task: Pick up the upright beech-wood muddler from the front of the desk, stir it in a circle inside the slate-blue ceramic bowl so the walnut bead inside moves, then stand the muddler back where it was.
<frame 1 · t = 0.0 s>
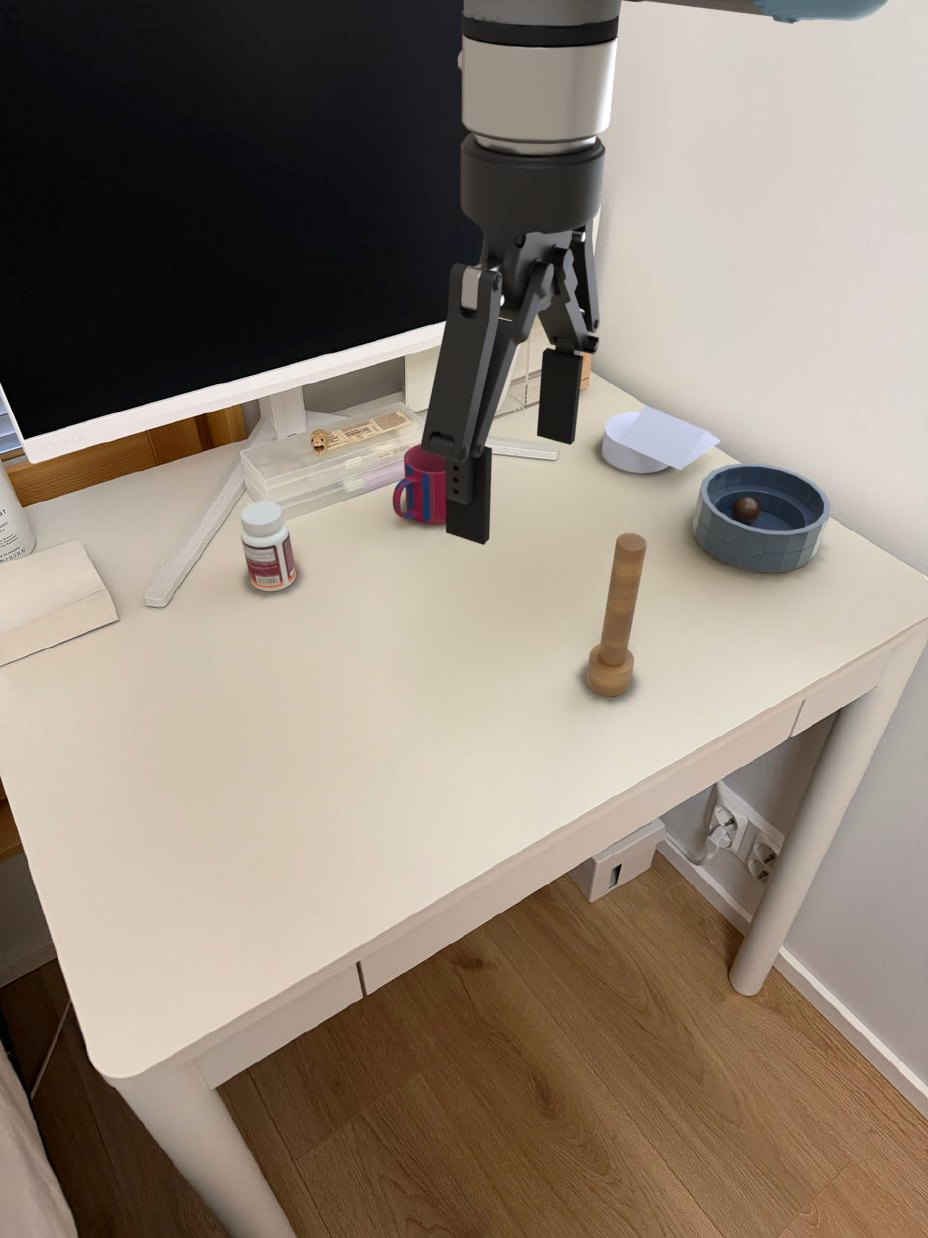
hand: (514, 483, 58), 25 cm above the table, tool pointing down, fingers open, 13 cm apart
bead: (745, 510, 95), point 2 cm above the table, touching bowl
mug: (425, 515, 98), on the table
bowl: (752, 538, 95), on the table
pill bottle: (273, 579, 90), on the table
wedge on round base: (650, 460, 107), on the table
muddler: (607, 680, 79), on the table
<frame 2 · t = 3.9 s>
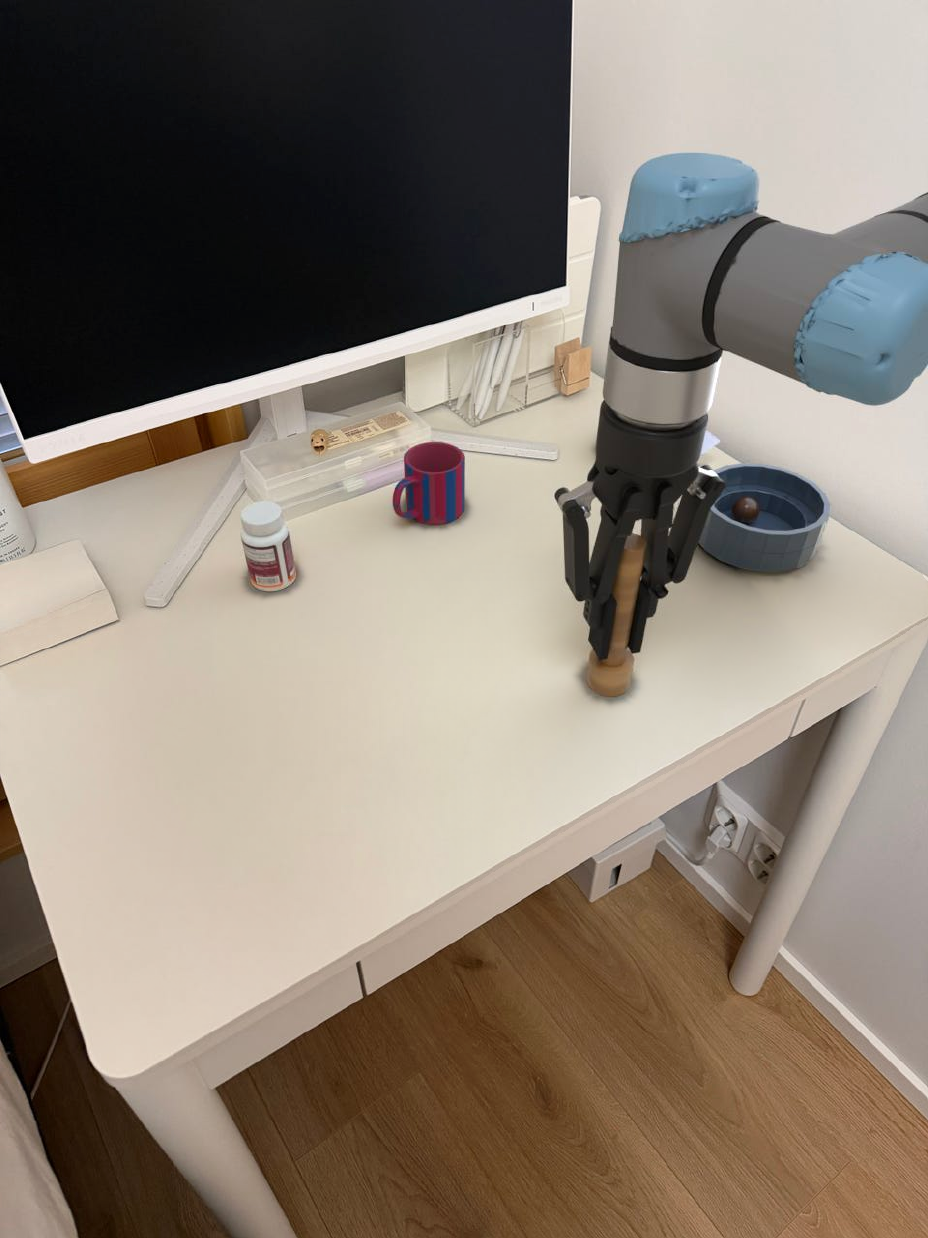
hand: (613, 645, 76), 5 cm above the table, tool pointing down, fingers closed on muddler, 2 cm apart
muddler: (607, 680, 79), on the table, touching gripper
everything else where it was.
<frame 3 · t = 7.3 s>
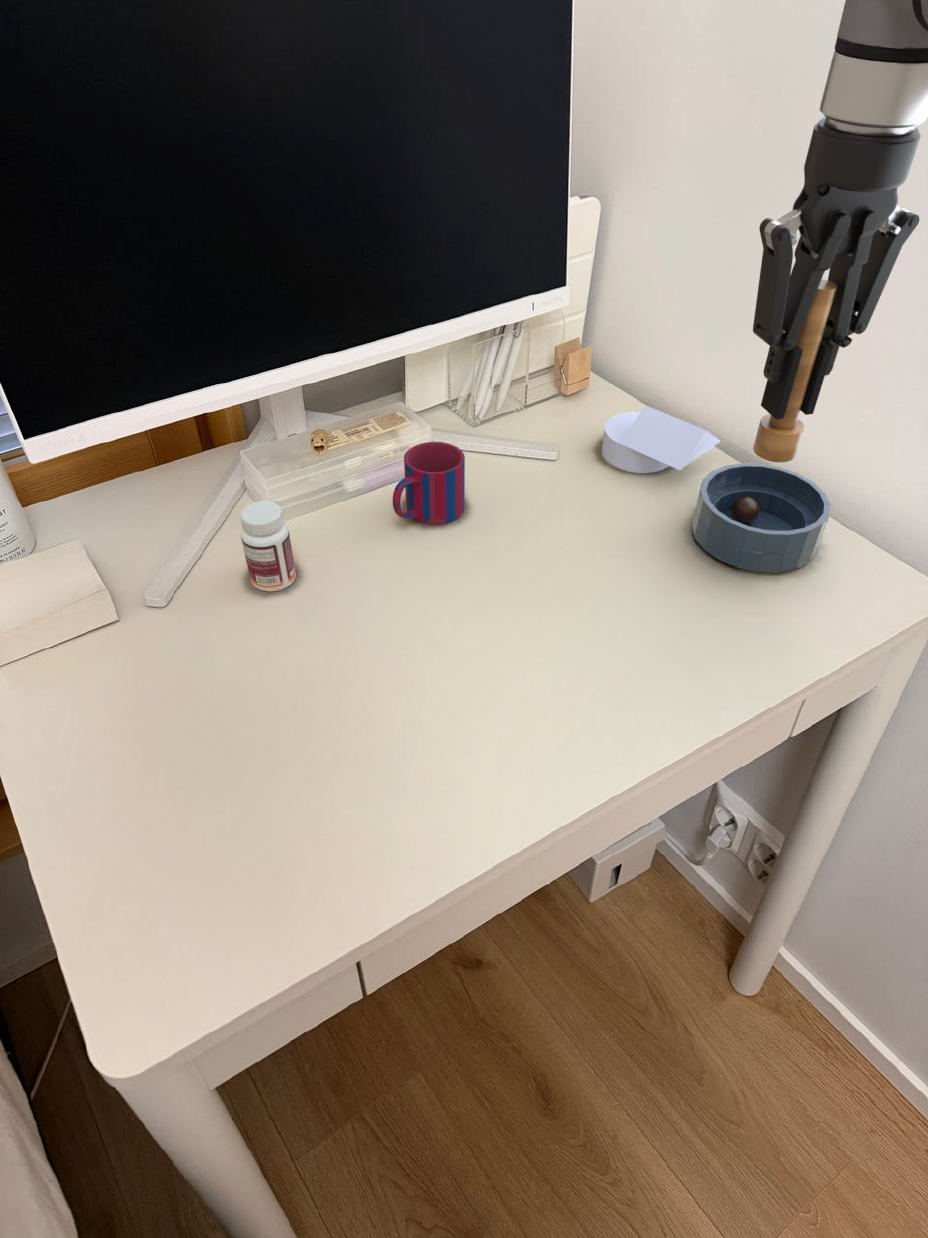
hand: (786, 409, 79), 18 cm above the table, tool pointing down, fingers closed on muddler, 2 cm apart
muddler: (774, 451, 82), point 14 cm above the table, touching gripper
everything else where it was.
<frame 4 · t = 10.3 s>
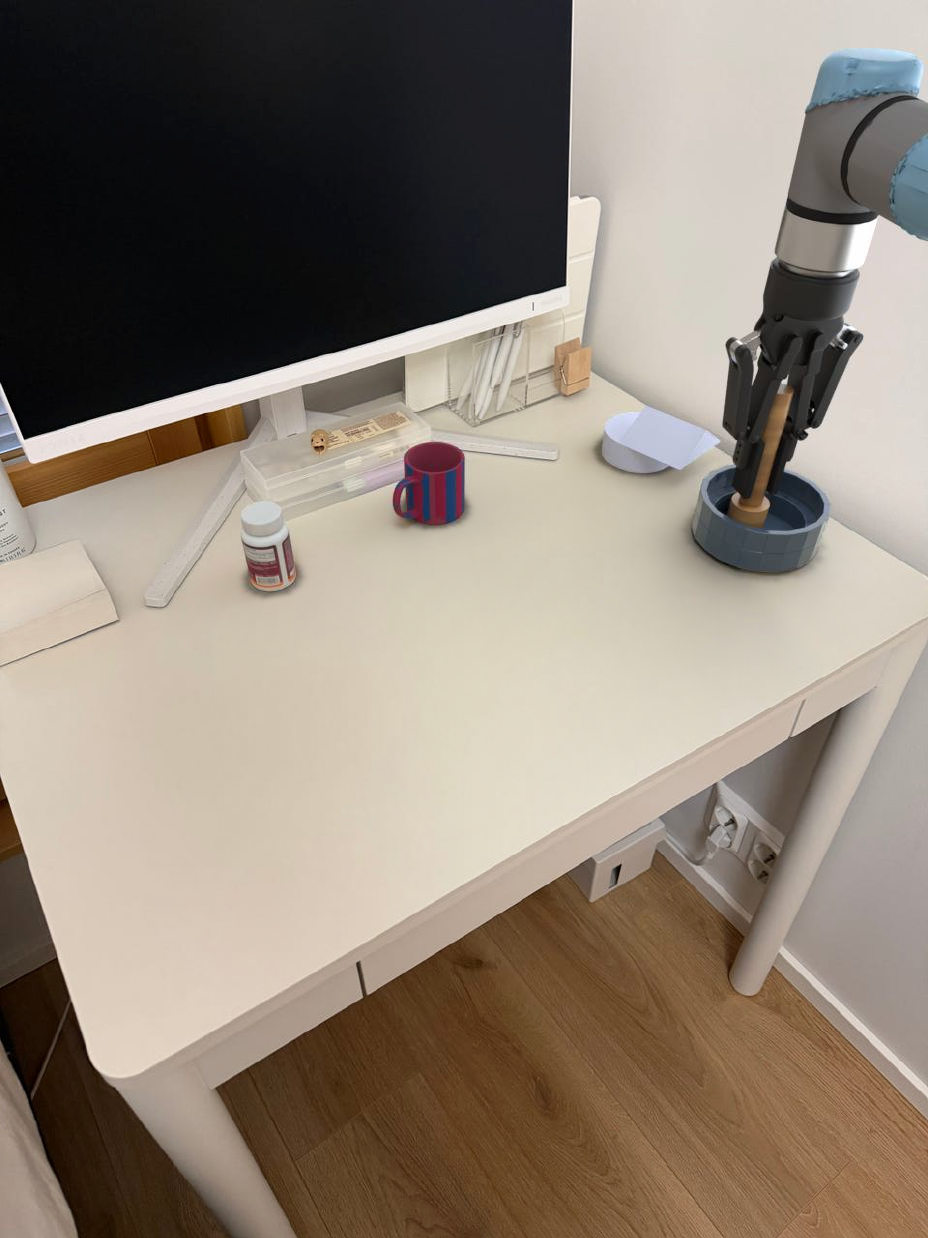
hand: (754, 489, 90), 7 cm above the table, tool pointing down, fingers closed on muddler, 2 cm apart
bead: (741, 506, 96), point 2 cm above the table, tilted 29°, touching bowl, muddler
muddler: (744, 524, 93), point 2 cm above the table, touching bead, gripper
everything else where it was.
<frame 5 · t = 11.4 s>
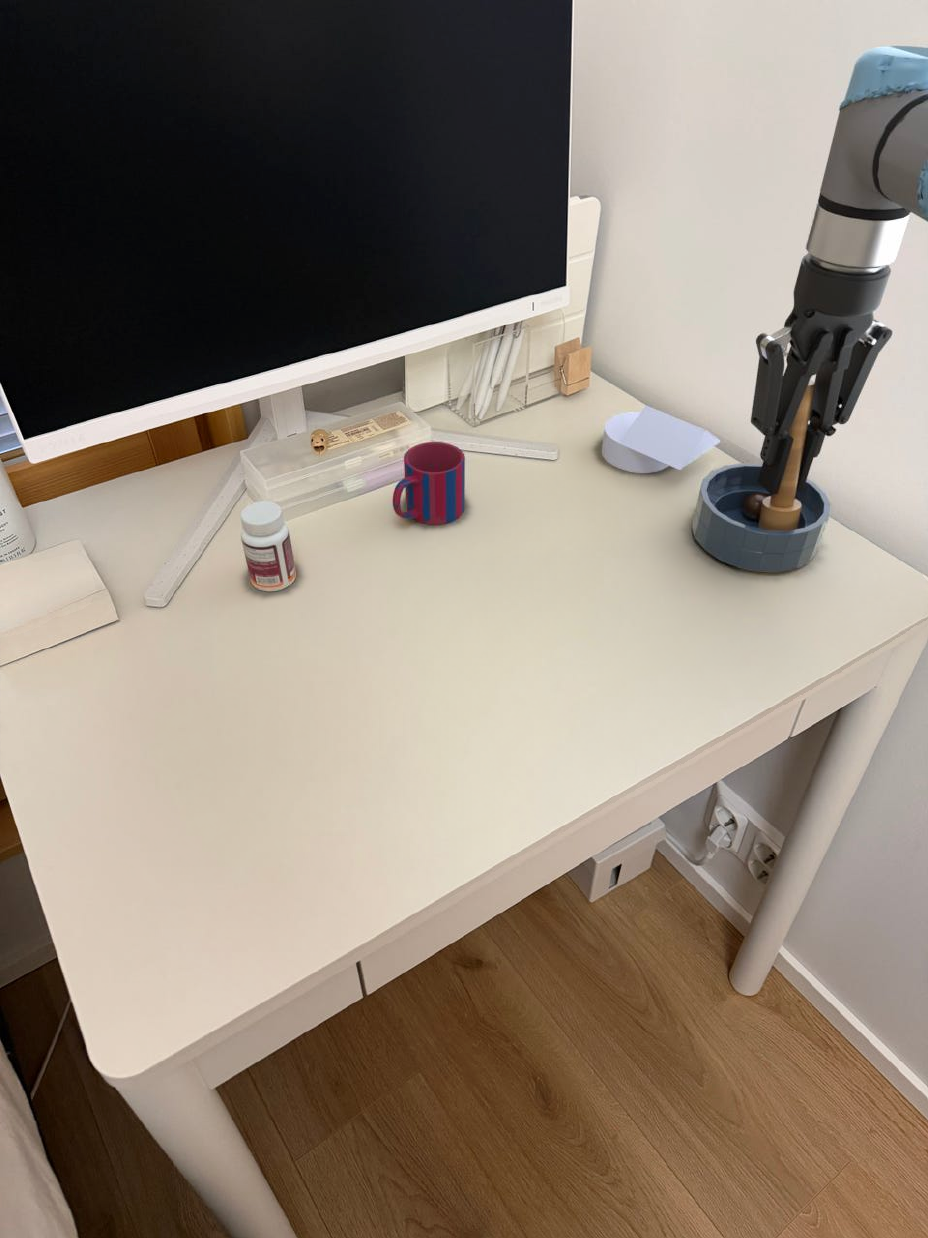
hand: (780, 484, 91), 7 cm above the table, tool pointing down, fingers closed on muddler, 2 cm apart
bead: (756, 506, 96), point 2 cm above the table, tilted 9°, touching bowl
muddler: (777, 528, 93), point 2 cm above the table, tilted 10°, touching gripper
everything else where it was.
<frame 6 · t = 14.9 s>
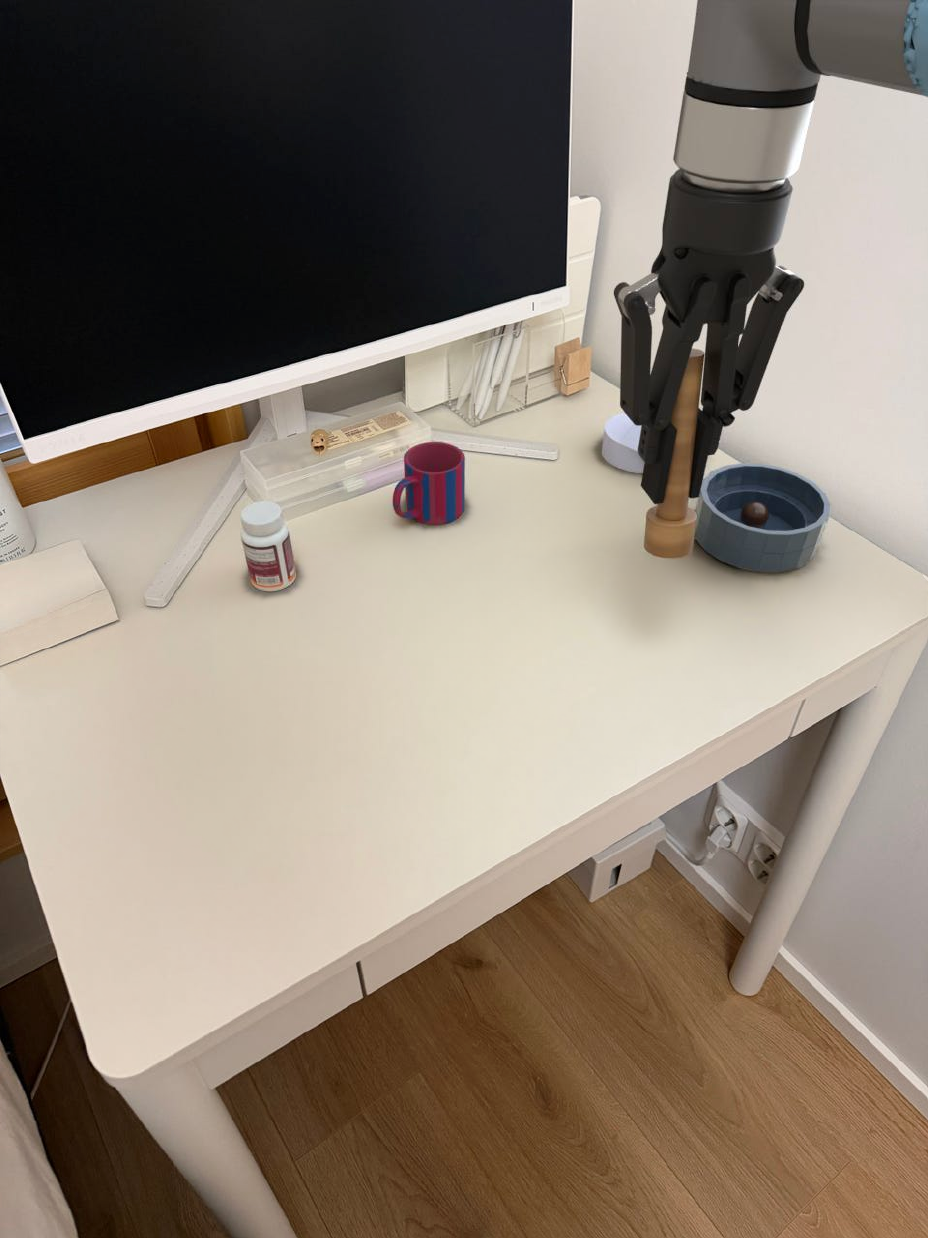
hand: (669, 490, 69), 18 cm above the table, tool pointing down, fingers closed on muddler, 2 cm apart
bead: (754, 515, 95), point 2 cm above the table, tilted 59°, touching bowl
muddler: (668, 547, 71), point 14 cm above the table, tilted 10°, touching gripper
everything else where it was.
when the fingers open (5 cm above the table, at t = 18.4 s): muddler stays where it is, on the table.
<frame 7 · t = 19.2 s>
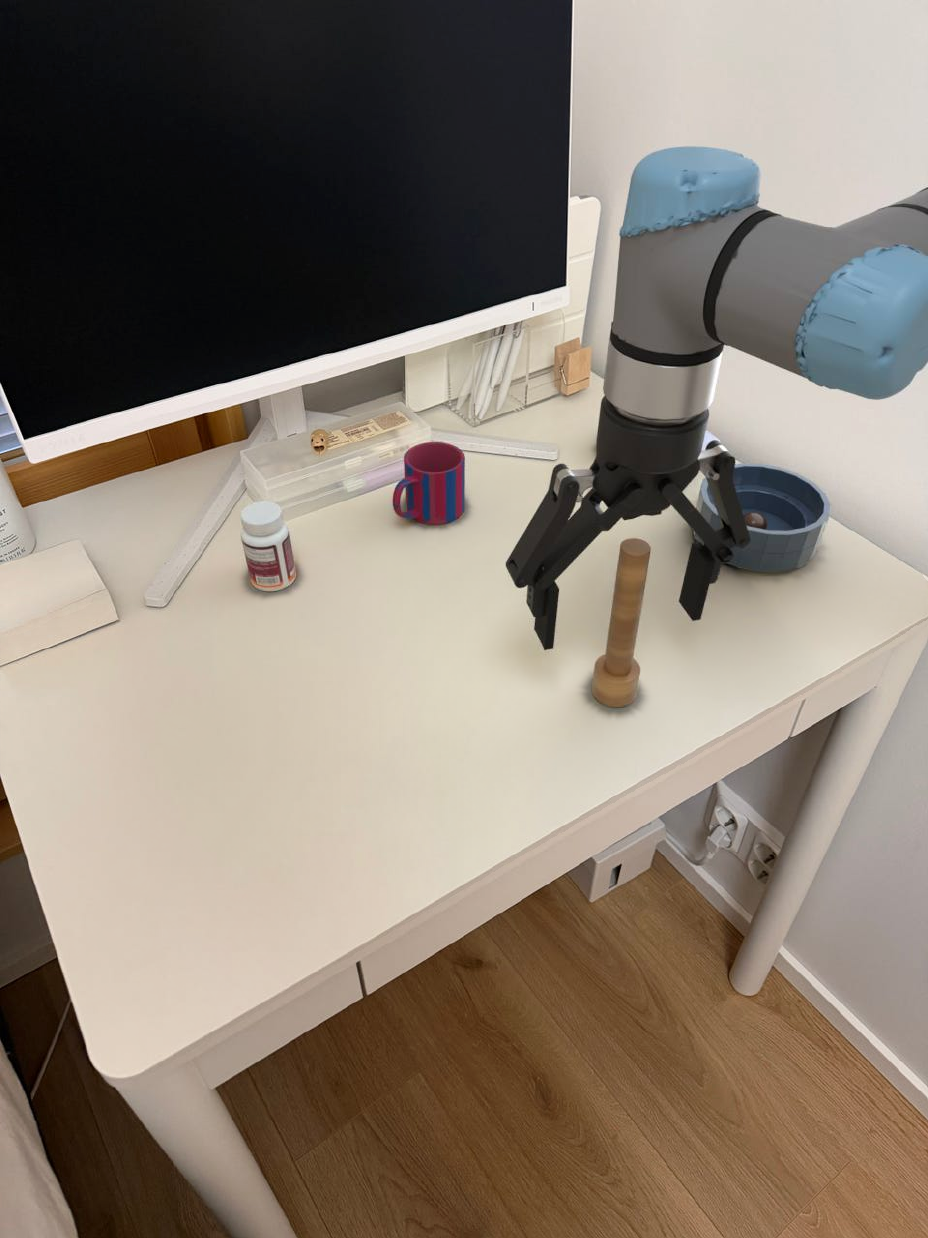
hand: (617, 624, 74), 7 cm above the table, tool pointing down, fingers open, 13 cm apart
bead: (752, 525, 93), point 2 cm above the table, tilted 141°, touching bowl
muddler: (613, 691, 78), on the table
everything else where it was.
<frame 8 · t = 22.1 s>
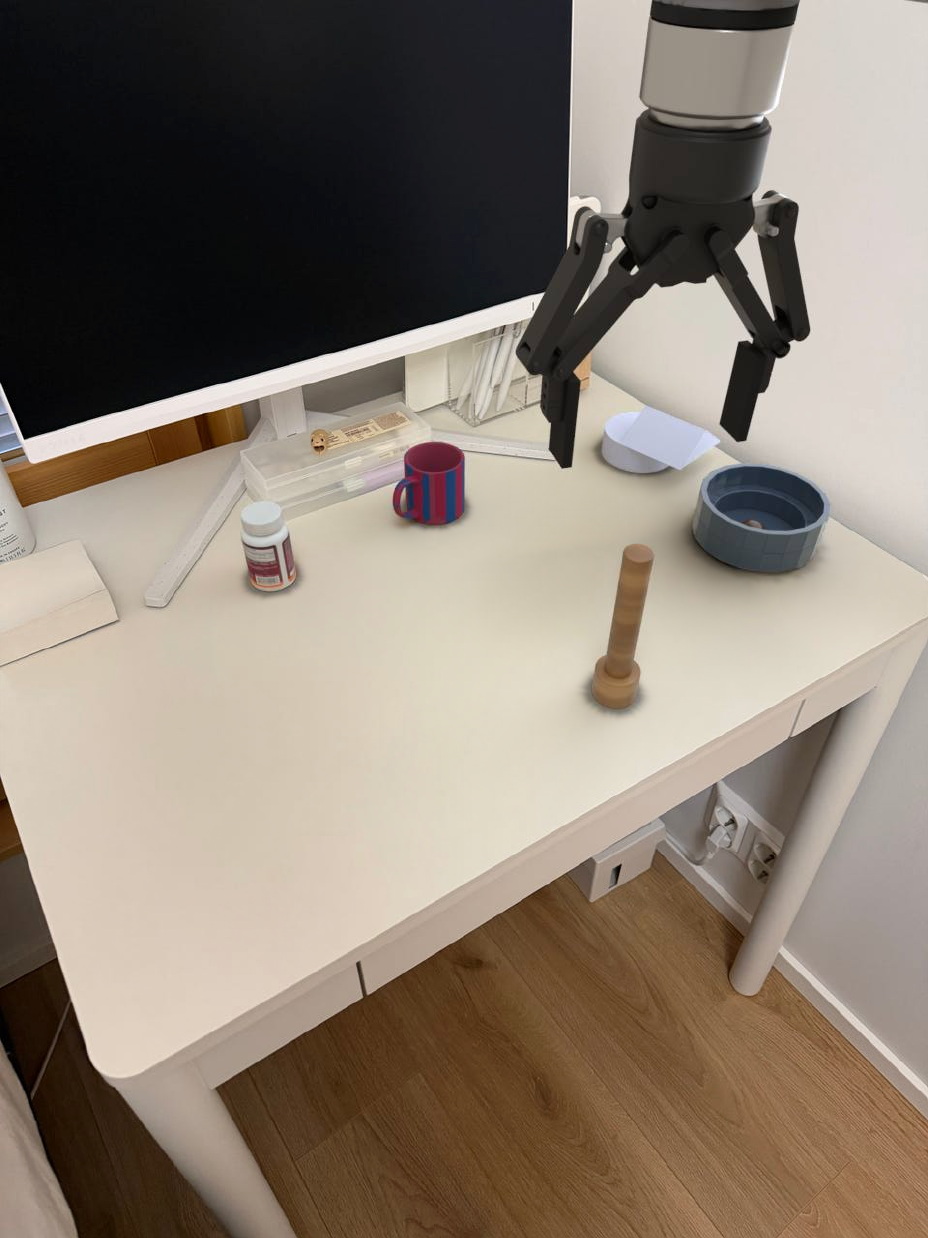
hand: (648, 445, 62), 25 cm above the table, tool pointing down, fingers open, 13 cm apart
bead: (750, 533, 92), point 2 cm above the table, tilted 164°, touching bowl
everything else where it was.
at the end: bead moved 4.4 cm from its start; muddler inside the target area (1.5 cm from its centre), on the table; muddler tilted 0° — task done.
